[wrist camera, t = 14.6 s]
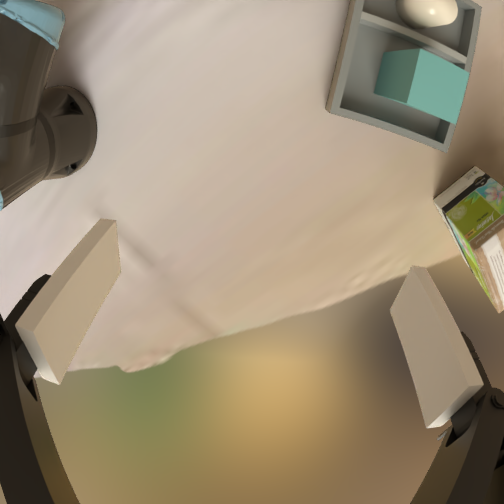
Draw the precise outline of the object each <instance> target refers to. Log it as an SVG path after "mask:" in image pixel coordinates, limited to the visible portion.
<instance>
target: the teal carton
mask: <svg viewBox="0 0 504 504" xmlns="http://www.w3.org/2000/svg"><path fill="white" fill-rule="evenodd" d="M468 77H469V72H467V71H465V70H463V69H461V68H459V67H457V66H456V65H454V64H452V63H450V62H448V61H446V60H444V59H442V58H440V57H438V56H436V55H434V54H431V53H429V52H427V51H425V50H423V49H420V48H419V49H409V50H399V51H391V52H384V53H383V57H382V61H381V65H380V70H379V74H378V78H377V82H376V86H375V90H374V94H377V95H380V96H382V97H385V98H388V99H391V100H394V101H396V102H399V103H402V104H404V105H407V106H409V107H412V108H415V109H417V110H420V111H423V112H425V113H428V114H431V115H433V116H436V117H438V118H441V119H443V120H446V121H448V122H450V123H453V124H455V125H456V122H457V119H458V115H459V112H460V108H461V105H462V101H463V97H464V93H465V89H466V85H467V81H468Z"/></svg>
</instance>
